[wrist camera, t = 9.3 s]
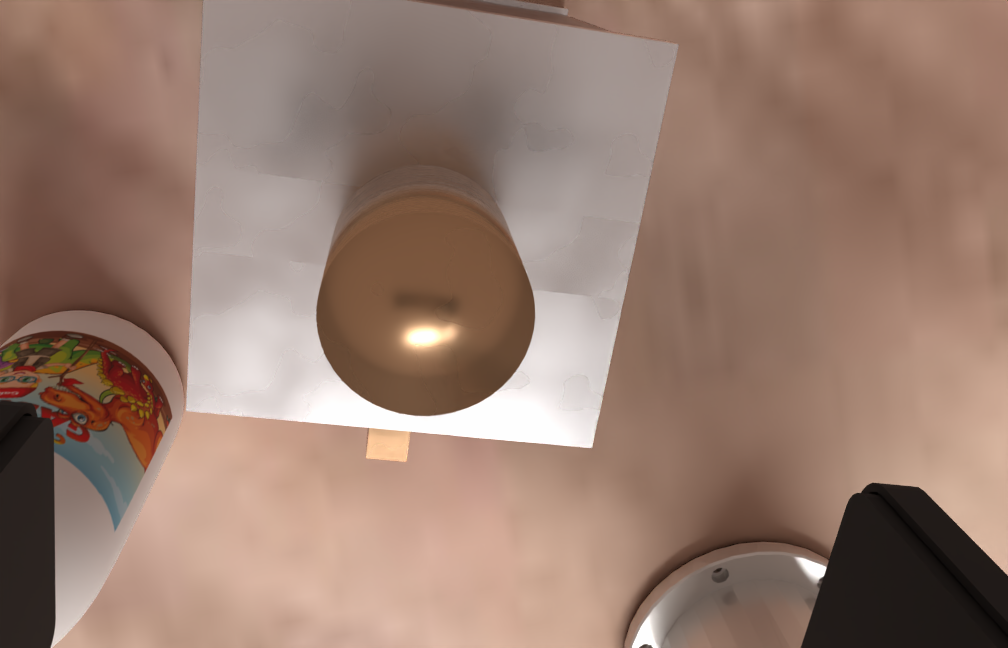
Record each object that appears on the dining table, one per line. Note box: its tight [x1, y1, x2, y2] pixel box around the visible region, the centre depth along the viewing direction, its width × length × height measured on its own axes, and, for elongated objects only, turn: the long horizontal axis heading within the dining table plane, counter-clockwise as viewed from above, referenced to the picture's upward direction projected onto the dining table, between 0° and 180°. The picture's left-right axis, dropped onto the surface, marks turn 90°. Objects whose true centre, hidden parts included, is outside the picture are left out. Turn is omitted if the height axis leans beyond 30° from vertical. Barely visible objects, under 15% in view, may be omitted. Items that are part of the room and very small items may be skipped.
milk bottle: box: [0, 310, 184, 648], centre depth 30 cm, size 8×8×20 cm
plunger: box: [316, 165, 535, 416], centre depth 26 cm, size 8×8×20 cm
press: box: [186, 0, 679, 462], centre depth 30 cm, size 10×13×16 cm
